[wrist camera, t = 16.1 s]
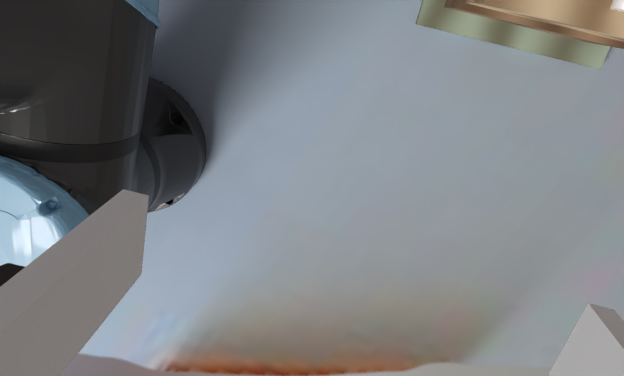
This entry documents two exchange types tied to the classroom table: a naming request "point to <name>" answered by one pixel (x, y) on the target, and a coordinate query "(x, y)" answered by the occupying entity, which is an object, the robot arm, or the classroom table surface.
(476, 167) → the classroom table surface
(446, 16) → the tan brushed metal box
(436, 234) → the classroom table surface
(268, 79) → the classroom table surface
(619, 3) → the seated beast figurine
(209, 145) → the classroom table surface
